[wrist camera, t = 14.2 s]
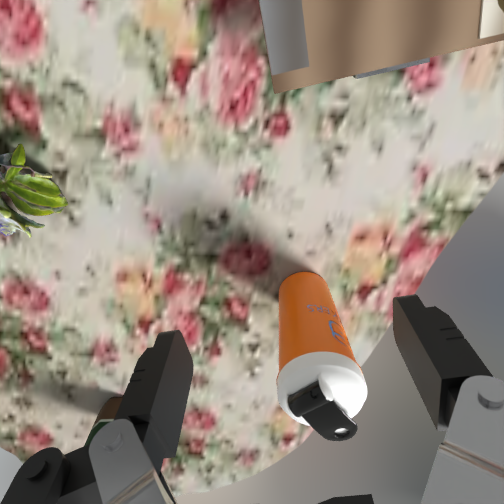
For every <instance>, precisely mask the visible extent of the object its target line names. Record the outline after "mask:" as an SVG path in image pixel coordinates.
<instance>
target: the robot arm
mask: <svg viewBox="0 0 504 504" xmlns="http://www.w3.org/2000/svg"><path fill="white" fill-rule="evenodd" d="M393 331H394V337H395V341H396V344H397V346H398V348H399V351H400V353H401V355H402V357H403V359H404V361H405V364H406V366H407V367H408V370H409V372H410V374H411V376H412V378H413V380H414V383H415V385H416V387H417V389H418V391H419V393H420V395H421V398H422V399H423V402H424V404H425V406H426V408H427V410H428V412H429V414H430V417H431V419H432V421H433V423H434V425H435V427H436V429H437V431H443V430H447V433H446V436H445V439H444V442H443V443H441V444H440V446H439V449H438V452H437V455H436V458H435V461H434V464H433V467H432V470H431V473H430V476H429V480H428V483H427V486H426V489H425V492H424V495H423V498H422V501H421V504H504V381H502V380H499V379H497V378H494V377H493V376H492V374H491V373H490V372H489V370H488V369H487V368H486V366H485V365H484V363H483V362H482V361H481V359H480V358H479V356H478V355H477V354H476V352H475V351H474V350H473V348H472V347H471V345H470V344H469V343H468V341H467V340H466V339H464V336H463V334H462V333H461V332H460V330H459V329H457V326H456V325H455V323H454V322H453V321H452V319H451V318H450V316H449V315H447V314H446V313H444V312H443V311H441V310H440V309H438V308H437V307H435V306H434V307H428V308H425V306H424V305H423V303H422V302H421V300H420V299H419V297H418V296H417V295H416V294H414V295H407V296H401V297H394V298H393ZM192 376H193V360H192V357H191V354H190V352H189V350H188V347H187V345H186V343H185V340H184V338H183V335H182V333H181V332H180V330H174V331H167V332H161V333H159V334H158V336H157V338H156V341H155V344H154V347H151V348H147V349H146V351H145V352H144V353H143V354H142V355H141V357H140V358H139V359H138V361H137V364H136V366H135V369H134V373H133V374H132V376H131V379H130V383H129V384H128V386H127V388H126V391H125V393H124V396H123V398H122V401H121V403H120V406H119V408H118V411H117V413H116V416H115V418H114V420H113V421H112V422H110V423H108V424H106V425H105V426H104V427H102V428H101V429H100V430H99V431H98V432H97V433H96V435H95V436H94V438H93V439H92V441H91V443H90V444H88V445H86V446H84V447H82V448H79V449H77V450H75V451H72V452H70V453H68V454H65V455H64V454H63V453H62V452H61V451H60V450H59V449H58V448H54V447H50V448H46V449H43V450H41V451H39V452H37V453H36V454H34V455H33V456H31V457H30V458H29V459H28V460H27V461H26V462H25V463H24V464H23V465H22V466H21V468H20V469H19V471H18V472H17V474H16V476H15V477H14V479H13V481H12V483H11V485H10V487H9V489H8V491H7V492H6V494H5V496H4V498H3V500H2V502H1V504H178V503H177V502H176V499H175V497H174V495H173V493H172V491H171V489H170V487H169V485H168V482H167V480H166V478H165V476H164V474H163V472H162V471H161V467H162V463H163V459H164V458H172V457H175V456H176V451H177V446H178V442H179V437H180V432H181V428H182V423H183V418H184V414H185V409H186V404H187V399H188V395H189V390H190V385H191V381H192ZM318 504H374V502H373V498H372V495H371V494H368V495H357V496H345V497H334V498H331V499H329V500H326V501H323V502H321V503H318Z"/></svg>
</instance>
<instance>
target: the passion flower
mask: <svg viewBox="0 0 504 504" xmlns="http://www.w3.org/2000/svg"><path fill="white" fill-rule="evenodd" d="M10 157H11V158H10ZM25 161H26V160H25V150H24V147H23V145H22V144H18V146H17V148H16V149H15V151H14V152H12V153H6V154H2V155H0V167H1V165H2V166H4V167H5V168H6V172H5V173H4V174H3V173H2V172H1V171H0V232H1V233H3V234H4V235H5V236H7V235H11V234H13V232H14V233H16V232H15V230H16V229H18V230H20V231H23V232H25V233H27V234H28V236H29V237H31V232H30V229H29V228H28V227H29V226H32V227H34V228H42V227H44V226H45V225H42V224H39V223H36V222H34V221H33V220H29V219H27V218H26V217H24V216H21V215H20V214H18V213H17V212H15V211H14V210H13V209H11V208H10V207H9V206H8V205H7V203H6V202H5V201H4V199H3V198H2V195H1V191H4V192H5V194H6V195H7V196H9V197H10V198H11V199H12V202H13V204H14V205H15V206H16V207H17V209H18V210H19V211H20V212H23V213H24V214H26V215H33V216H43V215H50V214H52V213H61V211H62V210H63V207H66V206H67V205H68V202H67V200H66V199H65V197H64V196H63V195H62V194H61V191H60V189H59V187H58V186H57V185H56V184H55V183H54V182H52V181H51V180H49V179H47V178H52V174H50V173H46V174H44V173H38V172H35V171H34V170H32V169H31V168H30V167H29V166H24V163H25ZM23 168H29V169H31V171H32V172H31V174H26V173H20V170H22V169H23ZM46 177H47V178H46ZM1 233H0V234H1Z"/></svg>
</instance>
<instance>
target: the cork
mask: <svg viewBox="0 0 504 504" xmlns="http://www.w3.org/2000/svg"><path fill="white" fill-rule="evenodd" d="M498 5H499V7H500V8H501V10H502V11H503V12H504V0H498Z"/></svg>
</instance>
